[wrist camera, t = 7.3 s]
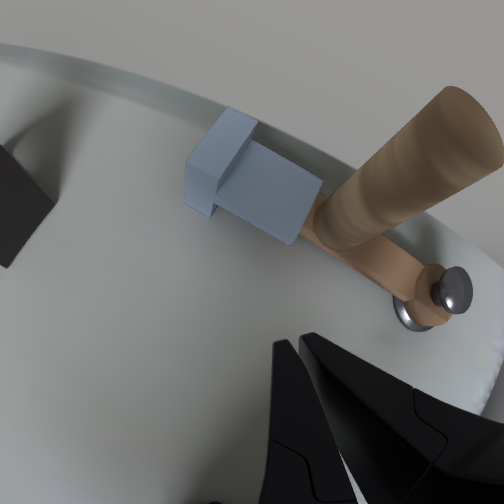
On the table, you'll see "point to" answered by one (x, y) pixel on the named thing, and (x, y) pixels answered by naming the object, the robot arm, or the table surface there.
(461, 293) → the pin stand
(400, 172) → the swing link
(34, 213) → the phone stand
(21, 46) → the table surface
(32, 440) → the table surface
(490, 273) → the table surface
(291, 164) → the bracket
